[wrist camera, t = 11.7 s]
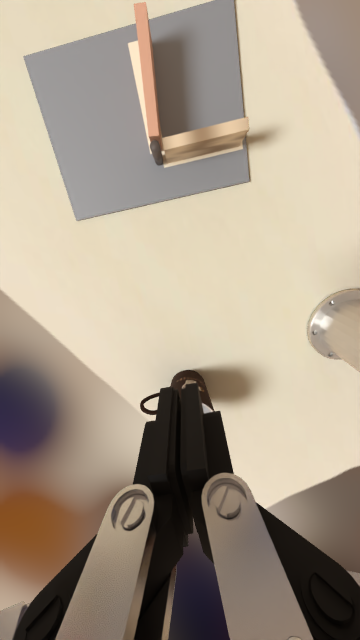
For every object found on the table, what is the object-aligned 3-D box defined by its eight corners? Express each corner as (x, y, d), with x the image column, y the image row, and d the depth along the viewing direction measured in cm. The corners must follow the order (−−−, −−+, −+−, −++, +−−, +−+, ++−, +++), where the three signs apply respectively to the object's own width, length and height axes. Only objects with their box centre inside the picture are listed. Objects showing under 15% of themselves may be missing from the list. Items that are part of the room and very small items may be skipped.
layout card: (232, -3, 26) (233, -6, 26) (248, 181, 32) (249, 181, 32) (24, 58, 28) (23, 56, 28) (77, 220, 34) (76, 220, 34)
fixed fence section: (237, 136, 30) (248, 116, 26) (238, 146, 31) (249, 129, 26) (153, 156, 31) (148, 141, 26) (155, 166, 32) (151, 153, 27)
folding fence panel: (162, 150, 31) (158, 135, 26) (153, 151, 31) (148, 136, 26) (151, 41, 27) (145, 2, 23) (142, 43, 27) (133, 3, 23)
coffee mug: (218, 378, 44) (228, 417, 34) (194, 409, 46) (196, 452, 37) (167, 349, 42) (162, 381, 32) (144, 382, 44) (133, 421, 35)
